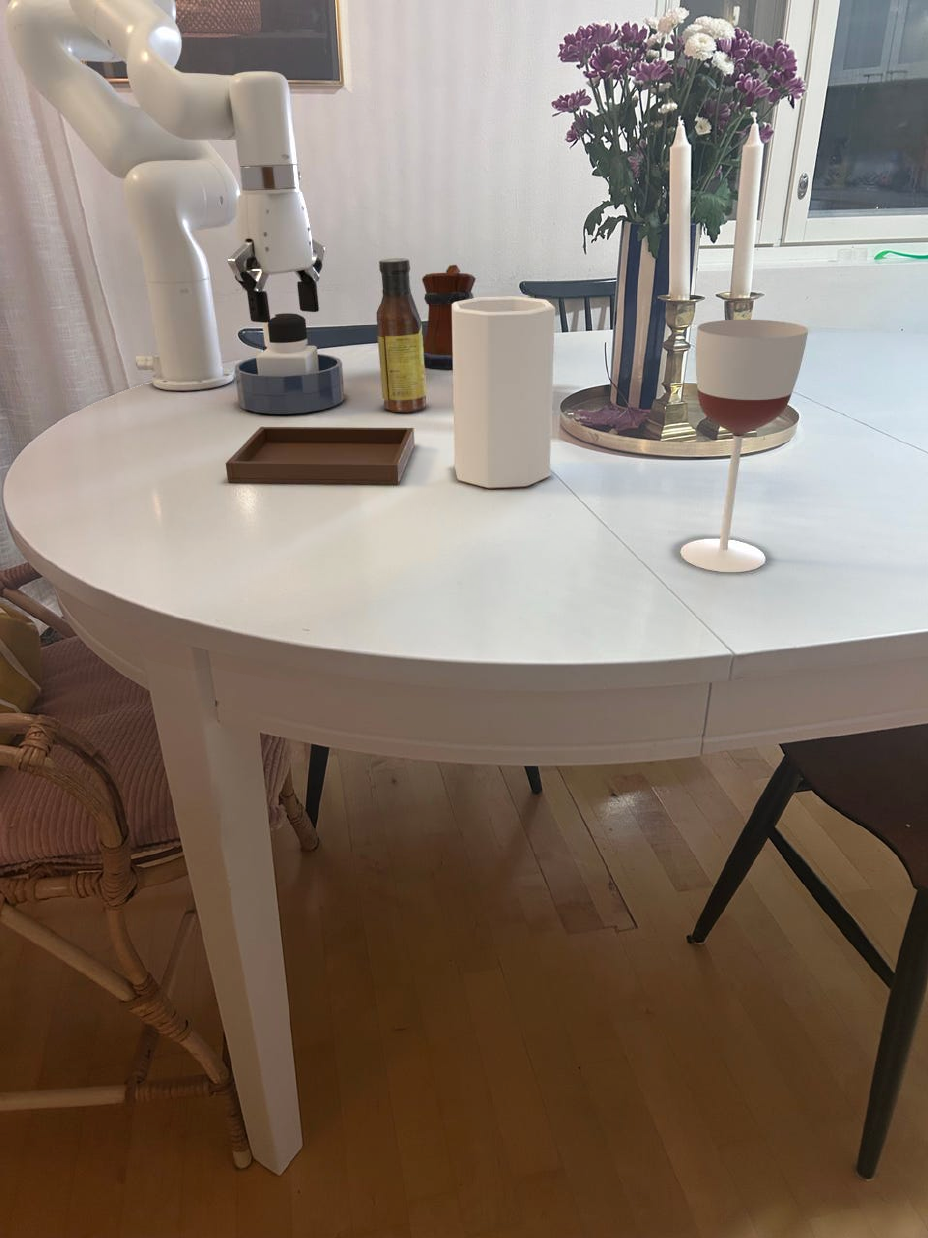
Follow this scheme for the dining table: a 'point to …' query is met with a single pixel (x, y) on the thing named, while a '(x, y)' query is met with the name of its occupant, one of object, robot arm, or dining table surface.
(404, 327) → the sauce bottle
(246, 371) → the bowl
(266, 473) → the tray
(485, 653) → the dining table surface
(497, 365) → the cup
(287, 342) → the medicine bottle
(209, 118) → the robot arm
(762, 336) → the wineglass
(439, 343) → the wooden pepper grinder
